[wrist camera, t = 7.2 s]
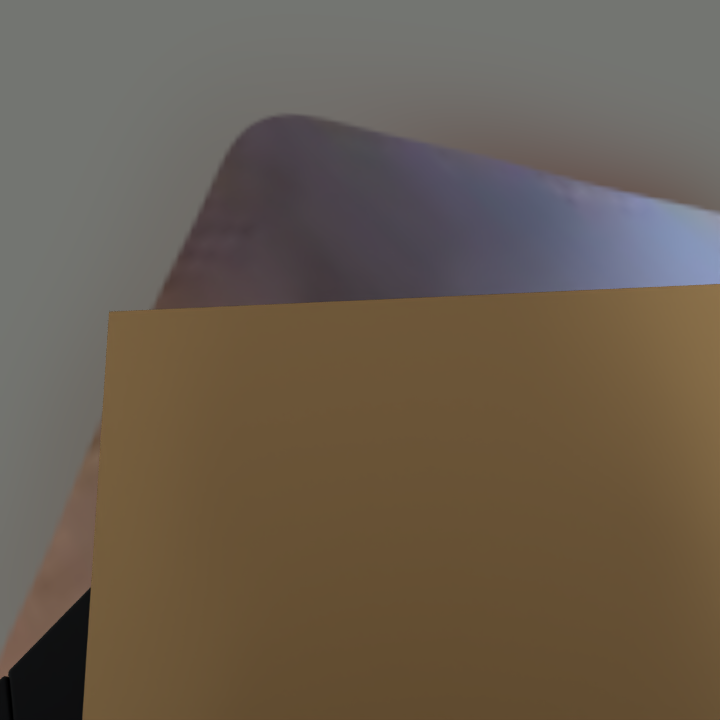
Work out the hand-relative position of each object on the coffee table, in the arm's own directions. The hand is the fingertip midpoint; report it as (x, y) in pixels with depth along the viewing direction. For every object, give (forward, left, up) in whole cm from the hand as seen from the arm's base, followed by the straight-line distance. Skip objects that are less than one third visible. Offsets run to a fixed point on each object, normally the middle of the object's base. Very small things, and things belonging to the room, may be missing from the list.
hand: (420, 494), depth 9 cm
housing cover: (-1, 0, +3) cm, 3 cm away
